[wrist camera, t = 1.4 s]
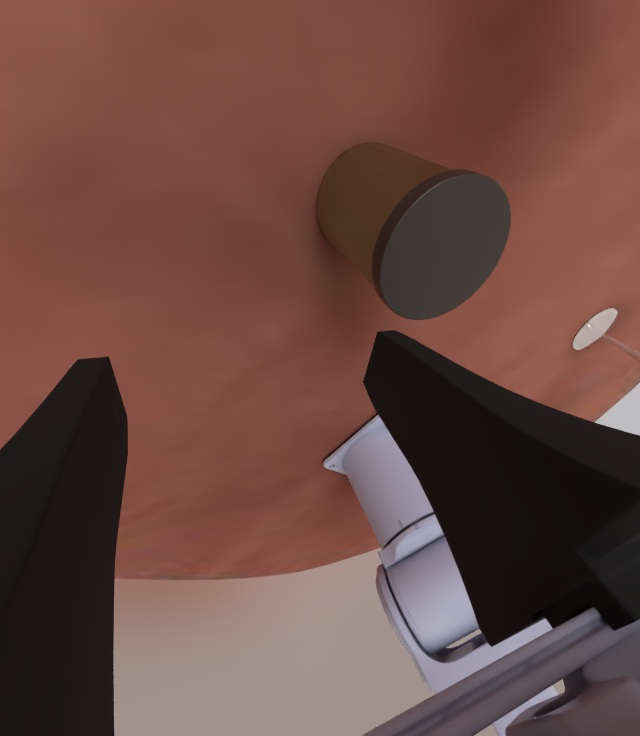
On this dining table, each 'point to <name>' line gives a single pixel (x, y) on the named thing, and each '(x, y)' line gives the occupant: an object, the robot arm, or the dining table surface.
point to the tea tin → (414, 227)
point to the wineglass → (601, 333)
